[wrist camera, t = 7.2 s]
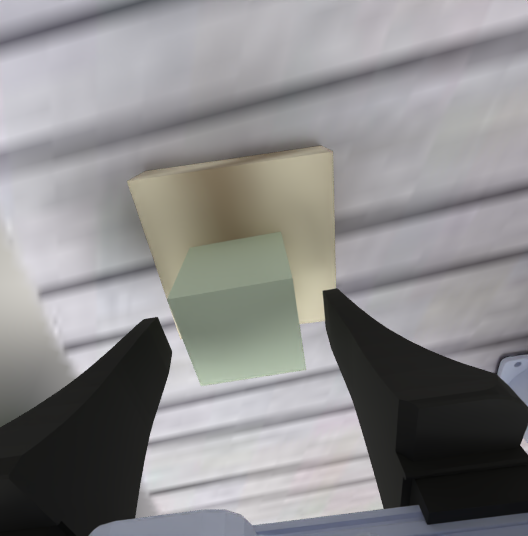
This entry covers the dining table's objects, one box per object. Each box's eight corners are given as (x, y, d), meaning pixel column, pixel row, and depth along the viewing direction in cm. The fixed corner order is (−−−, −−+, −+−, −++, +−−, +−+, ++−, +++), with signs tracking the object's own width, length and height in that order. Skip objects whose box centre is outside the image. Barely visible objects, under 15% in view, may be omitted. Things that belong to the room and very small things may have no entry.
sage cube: (281, 231, 14) (292, 278, 10) (292, 307, 16) (306, 369, 12) (189, 247, 15) (166, 299, 11) (212, 320, 17) (201, 386, 13)
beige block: (318, 144, 15) (333, 151, 13) (325, 291, 20) (336, 319, 17) (148, 169, 16) (126, 181, 13) (190, 308, 20) (180, 339, 17)
